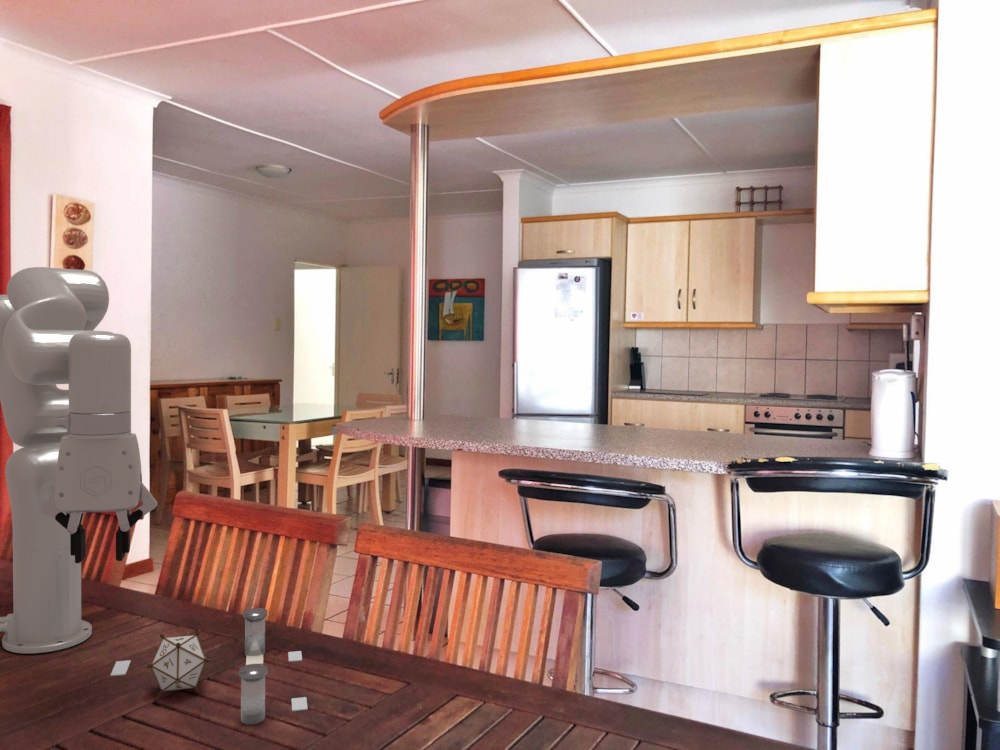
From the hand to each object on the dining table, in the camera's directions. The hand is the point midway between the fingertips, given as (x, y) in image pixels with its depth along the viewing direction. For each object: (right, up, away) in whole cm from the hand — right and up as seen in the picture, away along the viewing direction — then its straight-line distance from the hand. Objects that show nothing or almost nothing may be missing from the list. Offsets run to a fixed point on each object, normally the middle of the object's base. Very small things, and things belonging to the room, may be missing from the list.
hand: (100, 558), depth 109 cm
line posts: (+19, -19, +7) cm, 28 cm away
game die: (+9, -20, +4) cm, 22 cm away
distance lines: (+12, -19, +6) cm, 24 cm away
